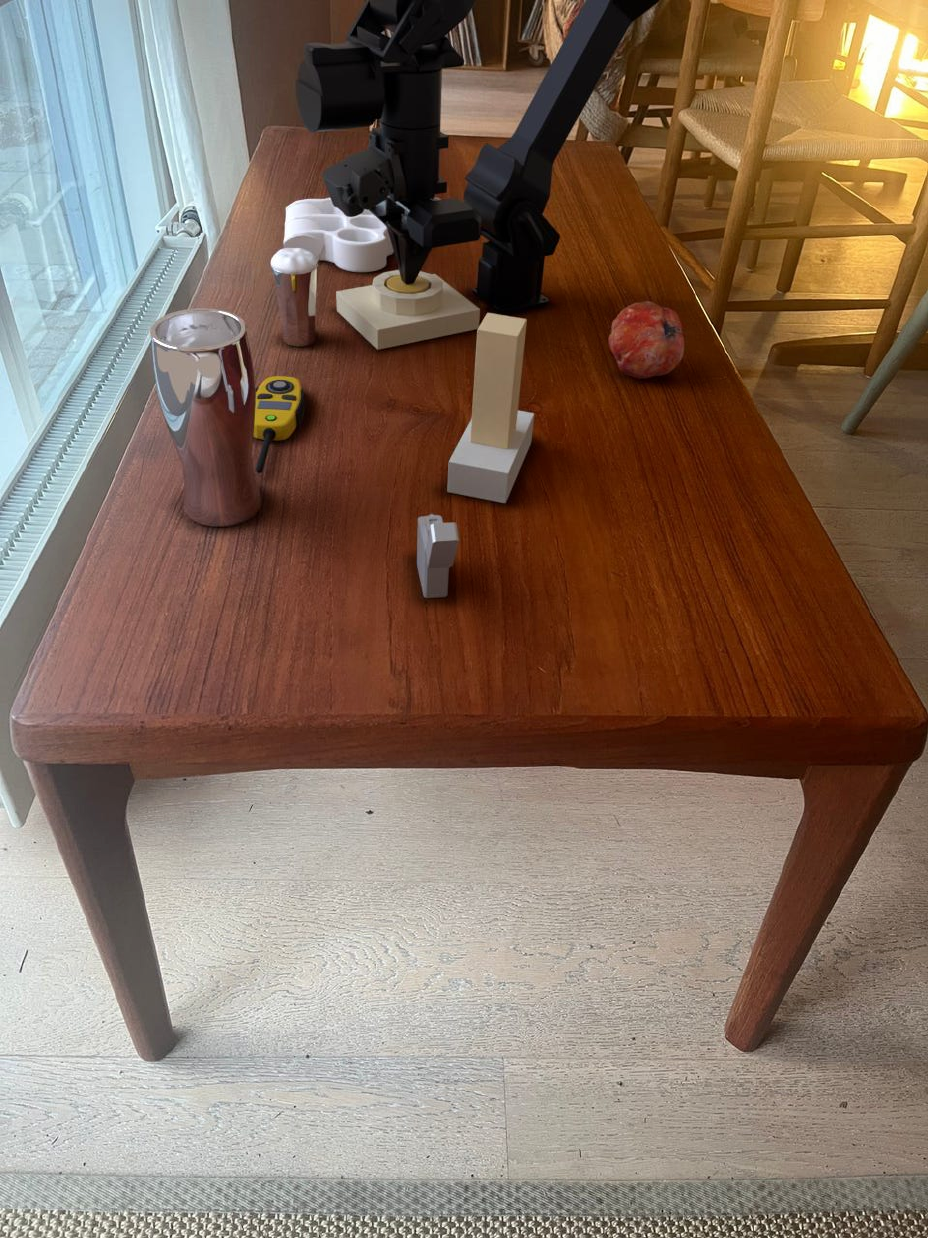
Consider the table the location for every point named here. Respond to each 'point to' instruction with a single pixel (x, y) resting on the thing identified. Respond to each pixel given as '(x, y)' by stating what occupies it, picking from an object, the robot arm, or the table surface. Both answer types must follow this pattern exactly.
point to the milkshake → (296, 294)
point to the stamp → (494, 415)
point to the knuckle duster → (337, 235)
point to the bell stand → (406, 311)
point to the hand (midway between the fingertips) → (408, 282)
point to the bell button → (407, 285)
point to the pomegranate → (646, 340)
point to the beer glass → (209, 410)
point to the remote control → (277, 411)
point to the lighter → (435, 554)
